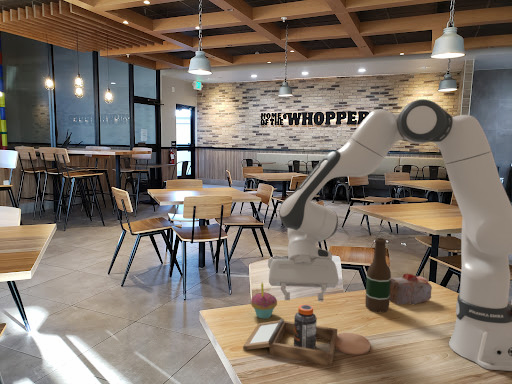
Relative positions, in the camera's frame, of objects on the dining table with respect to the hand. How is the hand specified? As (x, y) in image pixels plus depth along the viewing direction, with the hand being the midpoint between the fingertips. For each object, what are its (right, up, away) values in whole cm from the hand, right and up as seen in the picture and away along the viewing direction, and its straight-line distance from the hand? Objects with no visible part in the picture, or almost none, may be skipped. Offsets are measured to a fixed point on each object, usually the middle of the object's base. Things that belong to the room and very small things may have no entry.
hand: (303, 300), depth 107 cm
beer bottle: (+28, -9, +22) cm, 36 cm away
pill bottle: (0, -12, -4) cm, 12 cm away
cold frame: (0, -11, -4) cm, 12 cm away
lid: (-11, -11, -1) cm, 16 cm away
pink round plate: (+13, -11, -3) cm, 17 cm away
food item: (+41, -9, +28) cm, 50 cm away
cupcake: (-11, -9, +15) cm, 21 cm away
